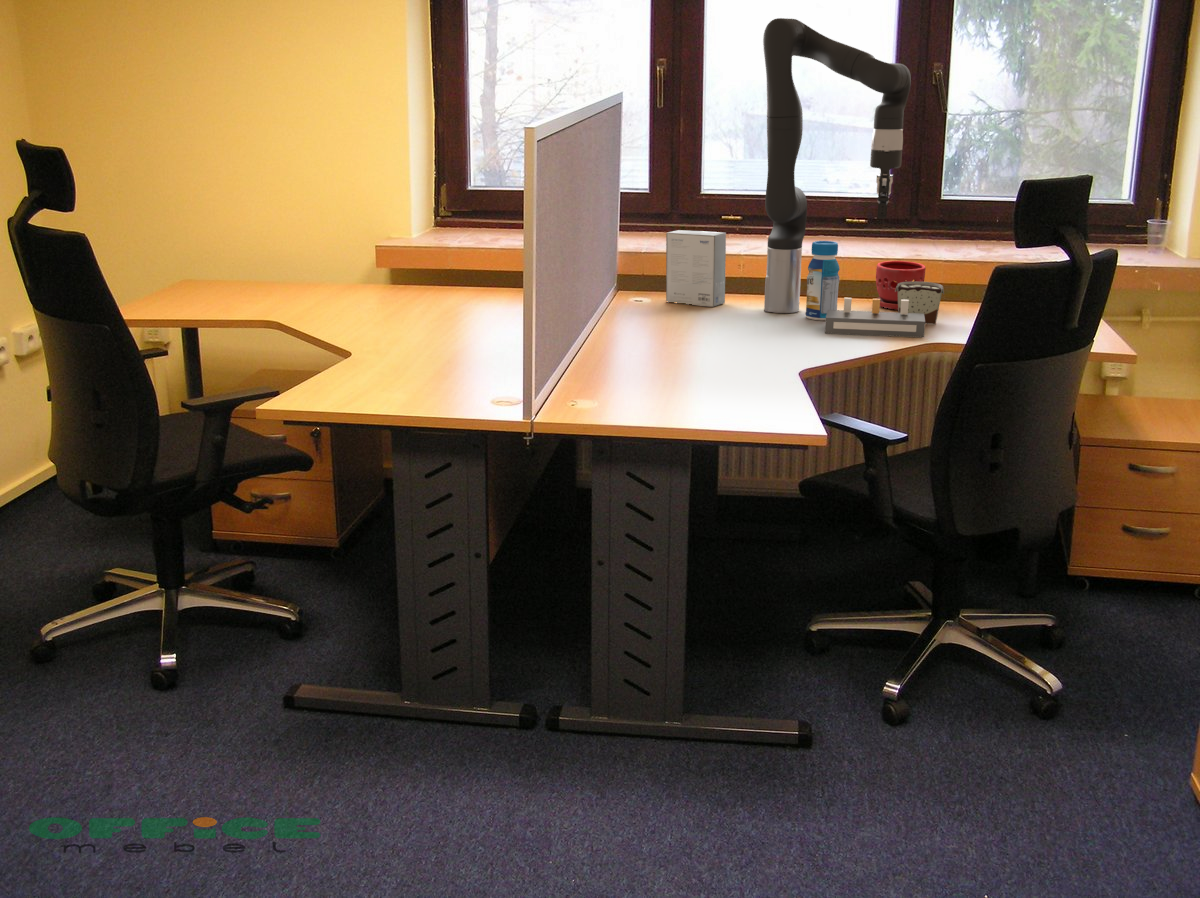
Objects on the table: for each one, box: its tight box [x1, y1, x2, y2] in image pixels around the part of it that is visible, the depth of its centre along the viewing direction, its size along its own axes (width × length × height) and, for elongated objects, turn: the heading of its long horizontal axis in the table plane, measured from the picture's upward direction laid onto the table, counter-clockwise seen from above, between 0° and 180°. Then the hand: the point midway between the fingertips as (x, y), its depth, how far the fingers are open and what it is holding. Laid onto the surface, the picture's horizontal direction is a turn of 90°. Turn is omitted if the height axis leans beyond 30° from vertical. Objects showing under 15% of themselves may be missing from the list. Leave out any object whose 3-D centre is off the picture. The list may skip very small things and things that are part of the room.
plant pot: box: [875, 260, 927, 311], centre depth 322 cm, size 13×13×12 cm
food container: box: [895, 280, 945, 326], centre depth 304 cm, size 12×6×10 cm, turn 71°
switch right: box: [900, 300, 909, 315], centre depth 293 cm, size 2×1×4 cm
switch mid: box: [871, 298, 881, 314], centre depth 294 cm, size 2×1×4 cm
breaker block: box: [824, 309, 926, 338], centre depth 294 cm, size 24×10×4 cm, turn 77°
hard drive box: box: [665, 229, 727, 308], centre depth 328 cm, size 16×8×20 cm, turn 58°
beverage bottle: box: [805, 240, 840, 322], centre depth 307 cm, size 8×8×20 cm
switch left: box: [843, 297, 853, 312], centre depth 296 cm, size 2×1×4 cm
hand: (882, 216), depth 295 cm, fingers open, 5 cm apart
